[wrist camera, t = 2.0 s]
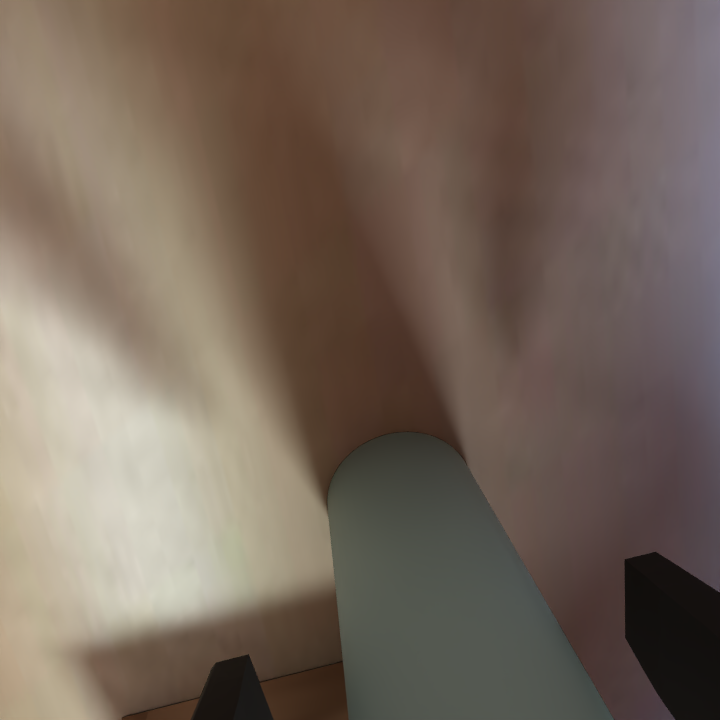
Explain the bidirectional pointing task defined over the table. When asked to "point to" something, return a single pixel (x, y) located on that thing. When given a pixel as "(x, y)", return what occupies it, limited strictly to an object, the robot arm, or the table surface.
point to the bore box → (283, 698)
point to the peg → (441, 597)
